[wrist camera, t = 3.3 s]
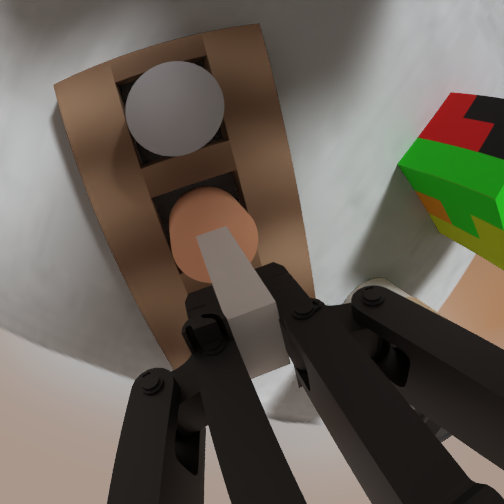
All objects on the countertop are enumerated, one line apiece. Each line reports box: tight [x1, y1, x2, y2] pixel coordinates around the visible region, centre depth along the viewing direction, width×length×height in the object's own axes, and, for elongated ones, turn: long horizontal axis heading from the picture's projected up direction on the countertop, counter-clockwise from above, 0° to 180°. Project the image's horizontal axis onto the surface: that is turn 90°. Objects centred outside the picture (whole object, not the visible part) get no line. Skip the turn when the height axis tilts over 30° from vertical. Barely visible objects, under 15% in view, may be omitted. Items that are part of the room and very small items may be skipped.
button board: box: [54, 23, 316, 370], centre depth 20 cm, size 22×12×2 cm, turn 14°
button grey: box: [125, 61, 224, 156], centre depth 14 cm, size 4×4×3 cm
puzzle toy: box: [398, 93, 504, 270], centre depth 20 cm, size 10×10×10 cm
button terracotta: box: [169, 186, 258, 283], centre depth 17 cm, size 4×4×3 cm
